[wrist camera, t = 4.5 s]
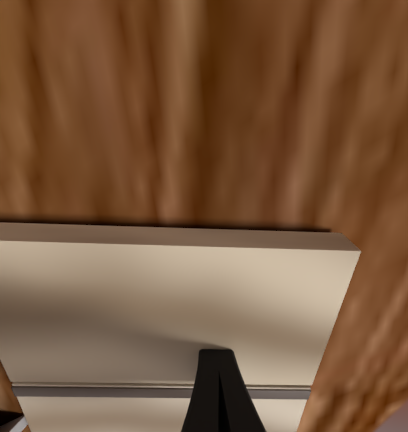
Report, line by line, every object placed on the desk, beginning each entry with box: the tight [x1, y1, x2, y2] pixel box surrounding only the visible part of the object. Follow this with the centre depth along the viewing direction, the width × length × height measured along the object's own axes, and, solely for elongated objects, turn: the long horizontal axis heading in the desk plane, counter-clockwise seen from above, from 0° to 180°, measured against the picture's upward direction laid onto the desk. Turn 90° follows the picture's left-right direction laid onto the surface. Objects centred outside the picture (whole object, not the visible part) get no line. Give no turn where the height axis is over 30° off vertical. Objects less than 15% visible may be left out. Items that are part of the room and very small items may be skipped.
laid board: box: [11, 382, 311, 432], centre depth 13 cm, size 7×13×1 cm, turn 88°
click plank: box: [0, 222, 361, 385], centre depth 10 cm, size 7×13×1 cm, turn 88°
